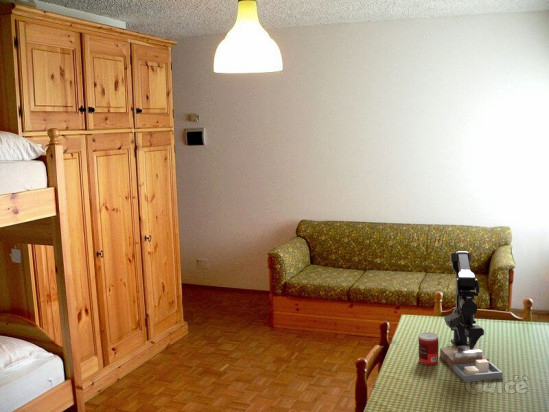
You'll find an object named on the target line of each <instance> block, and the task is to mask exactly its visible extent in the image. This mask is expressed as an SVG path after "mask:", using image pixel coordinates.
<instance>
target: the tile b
mask: <svg viewBox="0 0 549 412" xmlns="http://www.w3.org/2000/svg"><path fill="white" fill-rule="evenodd" d="M489 362H490V361H489ZM489 362H488V361H487V360H486V359H483V360H476V368H477V369H478V370H479V373H480V372H489Z"/></svg>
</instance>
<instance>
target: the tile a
mask: <svg viewBox="0 0 549 412" xmlns="http://www.w3.org/2000/svg"><path fill="white" fill-rule="evenodd" d="M464 373H465V374H477V373H479V370H478V369H477V368H476V367H475V366H469V367H464Z"/></svg>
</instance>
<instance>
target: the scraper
mask: <svg viewBox="0 0 549 412" xmlns="http://www.w3.org/2000/svg"><path fill="white" fill-rule="evenodd" d="M466 346H467V345H462V346H457V347H458V352H453V358H454V359H455V360H458V359H470V358H482V354H483V351H482V350H481V349H477V350H469V349H468V348H467V347H466Z"/></svg>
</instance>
